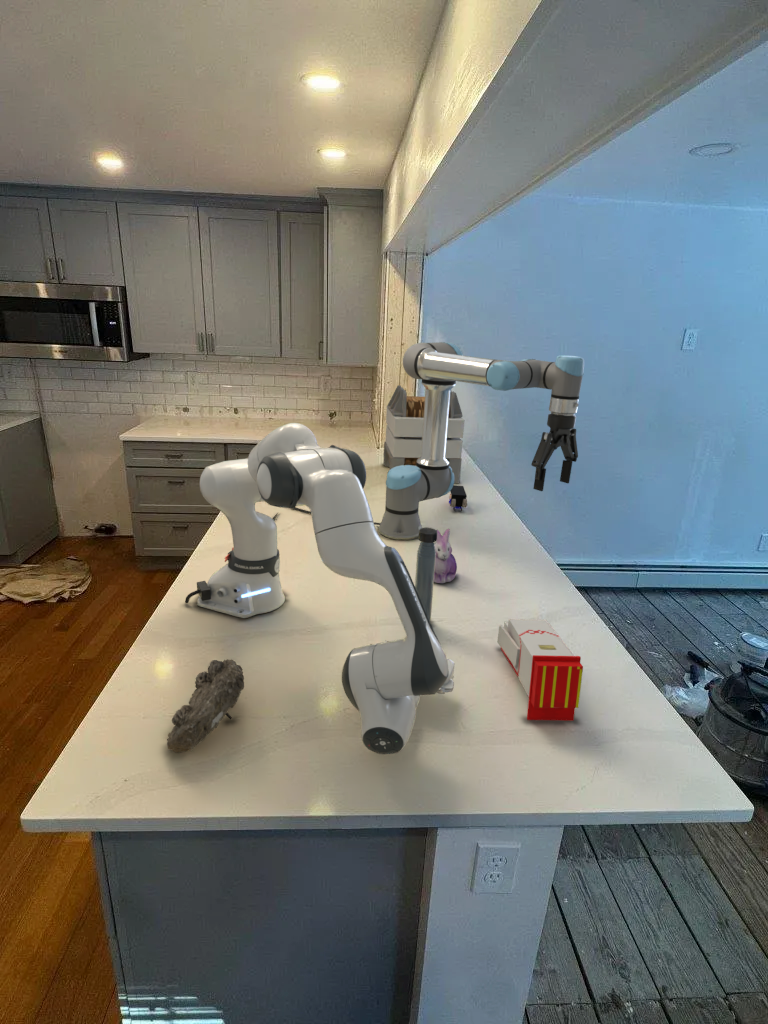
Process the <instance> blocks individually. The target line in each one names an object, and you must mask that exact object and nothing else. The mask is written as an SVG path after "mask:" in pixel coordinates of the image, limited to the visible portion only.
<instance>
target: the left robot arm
mask: <svg viewBox="0 0 768 1024" xmlns="http://www.w3.org/2000/svg"><path fill="white" fill-rule="evenodd" d="M366 482H367V468H366V465H365V463H364V461H363V459H362V457H361V456H360V455H359V454H358V453H357V452H356V451H353V450H350V449H347V448H343V447H340V446H337V445H334V444H331V445H330V446H329V447H322V446H320V445H319V443H318V440H317V437H316V435H315V434H314V432H313V431H312V430H311V429H310V428H309V427H308V426H306V425H305V424H303V423H299V422H289V423H285V424H283V425H280V426H278V427H276V428H275V429H273V430H272V431H270V432H269V433H268V434H267V435H265V436H264V437H263V438H262V439H261V440H260V441H259V442H258V443H257V444H256V445H255V446H254V447H253V448H252V449H251V450H250V452H249V454H248V457H246V458H239V459H238V458H237V459H230V460H223V461H220V462H216V463H214V464H211V465H207V466H205V468H204V469H203V470H202V472H201V474H200V477H199V490H200V494H201V495H202V497H203V498H204V500H205V501H206V502H207V503H208V504H209V505H211V506H212V507H214V508H216V509H218V510H219V511H220V512H221V513H222V514H223V515H224V516H225V518H226V519H227V521H228V523H229V525H230V531H231V535H232V545H233V546H232V547H231V550H230V551H229V552H228V553H227V554H226V556H224V559H225V560H224V563H226V562H227V563H226V564H225V565H223V566H221V567H220V568H219V569H217V570H216V571H215V572H214V573H213V574H211V576H210V577H209V578H208V580H207V581H206V580H201V581H197V582H196V590H194V591H192V592H190V593H188V594H187V596H186V597H185V600H184V603H185V604H189V602H190V600H191V598H192V597H193V596H196V595H198V598H197V606H198V607H201V608H203V609H204V608H205V609H208V610H212V611H215V612H219V613H222V614H225V615H230V616H233V617H236V618H240V619H248V618H251V617H252V616H255V615H261V614H265V613H270V612H273V611H275V610H277V609H279V608H280V607H282V605H284V603H285V601H286V596H285V594H284V591H283V587H282V583H281V577H280V569H281V557H280V550H279V548H278V525H277V523H276V521H275V519H274V520H273V519H272V518H273V517H271V516H270V515H268V514H266V513H263V512H260V511H257V510H256V503H263V502H265V503H266V504H268V505H269V506H271V507H272V506H273V507H277V508H282V509H283V508H284V509H293V510H295V509H294V508H295V507H296V508H297V507H307V508H308V509H309V511H310V512H311V514H310V515H311V520H312V527H313V532H314V538H315V544H316V547H317V552H318V554H319V558H320V559H321V562H322V563H323V565H324V566H325V567H326V568H327V569H328V570H330V571H331V572H332V573H335V574H336V575H338V576H341V577H344V578H348V579H354V580H359V581H367V582H371V583H374V584H376V585H379V586H381V587H383V588H384V589H385V590H386V591H387V593H388V594H389V595H390V597H391V600H392V602H393V605H394V607H395V610H396V612H397V614H398V617H399V619H400V622H401V625H402V627H403V629H404V632H405V637H404V638H399V639H395V640H386V639H385V640H384V641H383V642H378V643H372V644H367V645H363V646H359V647H354V648H352V649H351V650H350V652H349V653H348V655H347V656H346V658H345V660H344V664H343V666H342V670H341V685H342V689H343V691H344V694H345V695H346V698H347V699H348V701H349V702H350V703H351V705H352V707H354V708H355V710H356V711H357V712H358V713H359V716H360V737H361V741H362V743H363V745H364V747H366V748H367V749H368V750H369V751H370V752H373V753H374V754H378V755H392V754H398V753H399V752H401V751H402V750H403V749H404V748H405V746H406V745H407V744H408V742H409V740H410V737H411V735H412V732H413V728H414V725H415V720H416V717H417V707H418V706H419V702H420V698H421V696H431V695H435V694H439V695H445V694H446V693H451V692H453V691H454V687H455V683H454V680H453V679H454V675H455V665H456V663H455V662H454V661H453V660H452V659H451V658H447V655H446V652H445V650H444V649H443V647H442V644H441V642H440V640H439V638H438V636H437V634H436V632H435V630H434V629H433V627H432V624H431V622H429V619H428V617H427V615H426V612H425V610H424V607H423V605H422V602H421V600H420V598H419V595H418V593H417V590H416V588H415V582H414V581H413V578H412V576H411V574H410V572H409V570H408V567H407V566H406V563H405V562H404V559H403V557H402V556H401V555H400V553H399V551H398V550H397V549H396V548H395V547H392V546H388V545H387V544H386V543H384V541H383V540H382V539H381V537H380V535H379V534H378V533H379V532H378V531H377V529H376V526H375V524H374V522H375V521H374V517H373V514H372V510H371V507H370V504H369V501H368V497H367V495H366V493H365V486H366Z"/></svg>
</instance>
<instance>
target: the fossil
mask: <svg viewBox="0 0 768 1024" xmlns="http://www.w3.org/2000/svg"><path fill="white" fill-rule="evenodd" d="M243 670H244V669H243V667H242V665H240V664H237V662H236V661H235V660H234V659H232V658H231V659H227V658H226V659H224V660H223V661H222V660H217V659H212V660H211V661H210V663H209V665H208V666H207V671H201V672H199V673H198V674H197V675H196V676H195V680H194V684H195V685H194V687H195V689H194V690H193V693H192V694H191V697H190V698H189V700H188V704H184V705H182V706H181V707H180V709H177V710H176V711H175V713H174V715H173V716H172V718H171V723H172V724H173V727H172V730H171V731H170V732H168V734H167V738H166V741H167V742H166V745H167V749H168V750H169V751H173V752H174V753H176V754H178V753H182V752H188V751H189V752H192V751H193V750H195V748H196V747H197V746H199V744H200V743H201V742H203V741H204V740H205V739H206V738H207V737H208V736H209V735H210V734H211V733H212V732H214V730H215V729H217V727H218V726H219V724H220V722H221V721H222V720H223V719H224V718H225V716H226V717H227V719H229V720H233V717H232V715H230V714H229V710H230V709H231V708H234V706H235V704H236V703H237V702H238V699H239V697H240V695H241V693H242V691H243V690H245V689H244V688H245V675H244V671H243Z"/></svg>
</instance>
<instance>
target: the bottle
mask: <svg viewBox="0 0 768 1024" xmlns="http://www.w3.org/2000/svg"><path fill="white" fill-rule="evenodd" d="M434 545H435V542H433V543H425V542H422V541H420V542H419V545H418V549H417V552H416V562H415V578H414V586H415V588H416V590H417V593H418V595H419V598H420V600H421V602H422V605H423V607H424V610H425V612H426V615H427V617H428V619H429V622H430V623H431V621H432V610H433V609H432V608H433V607H432V606H433V598H434V597H433V595H434V585H435V584H434V583H435V582H434V572H435V560H436V551H435V546H434Z"/></svg>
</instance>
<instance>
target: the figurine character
mask: <svg viewBox="0 0 768 1024" xmlns="http://www.w3.org/2000/svg"><path fill="white" fill-rule="evenodd" d="M467 495H468V494H467V493H466V490H465V487H464V485H456V484H454V485H453V487H452V489H451V491H450V492H449V496H448V499H449V500H448V504H449V506H450V507H451V508H452V510H453V512H456V510H458V509H459V510H460V512H463V509H464V508H465V509H466V508H467V506H468V499H467V497H468V496H467Z"/></svg>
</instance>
